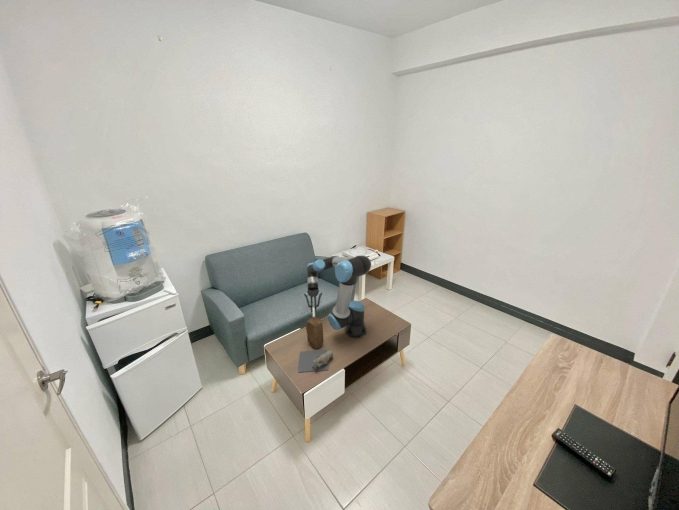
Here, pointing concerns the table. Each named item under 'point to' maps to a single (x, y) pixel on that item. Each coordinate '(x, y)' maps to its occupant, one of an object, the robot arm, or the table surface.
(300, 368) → the mat
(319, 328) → the block
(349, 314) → the robot arm
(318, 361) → the decorative bird
